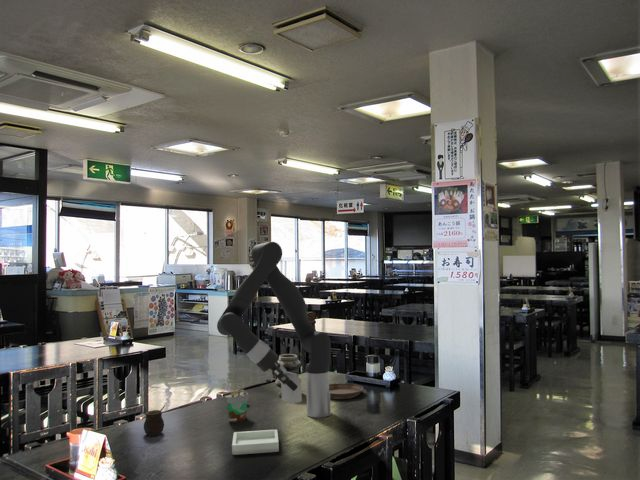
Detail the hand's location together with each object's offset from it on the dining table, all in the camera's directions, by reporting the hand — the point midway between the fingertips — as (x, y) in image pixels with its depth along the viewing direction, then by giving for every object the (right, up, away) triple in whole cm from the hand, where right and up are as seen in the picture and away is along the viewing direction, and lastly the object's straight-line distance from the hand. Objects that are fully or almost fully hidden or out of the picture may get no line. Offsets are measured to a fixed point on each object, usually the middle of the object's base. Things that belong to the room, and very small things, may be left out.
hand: (295, 386), depth 182 cm
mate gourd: (-52, -19, +4) cm, 55 cm away
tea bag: (-1, -5, 0) cm, 6 cm away
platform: (-27, -20, +39) cm, 52 cm away
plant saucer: (+19, -20, +53) cm, 59 cm away
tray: (-13, -17, -12) cm, 24 cm away
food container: (-22, -19, +18) cm, 35 cm away
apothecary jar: (-6, -20, +56) cm, 60 cm away
